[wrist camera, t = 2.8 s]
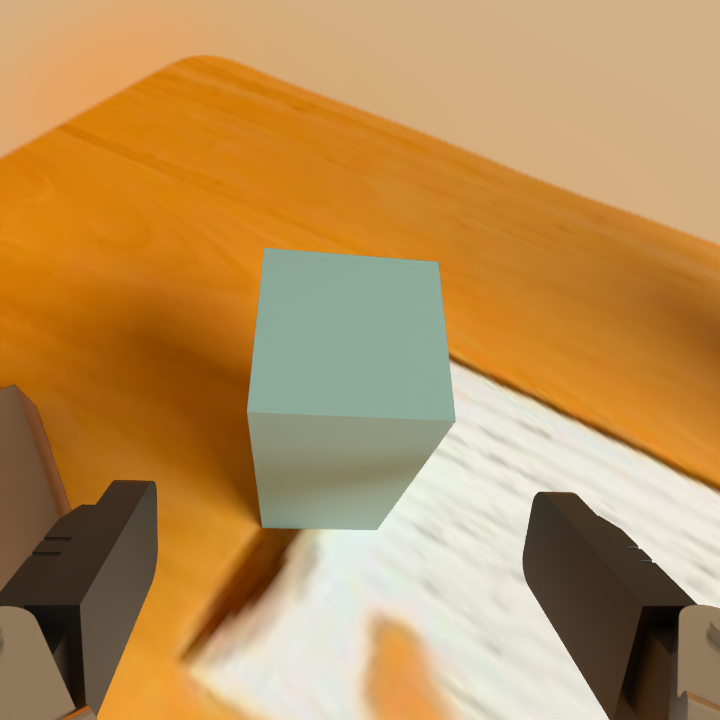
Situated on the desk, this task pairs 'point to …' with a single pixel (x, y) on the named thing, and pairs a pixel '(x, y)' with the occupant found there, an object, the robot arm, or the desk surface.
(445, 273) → the desk surface
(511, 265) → the desk surface
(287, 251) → the pillar
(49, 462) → the base
